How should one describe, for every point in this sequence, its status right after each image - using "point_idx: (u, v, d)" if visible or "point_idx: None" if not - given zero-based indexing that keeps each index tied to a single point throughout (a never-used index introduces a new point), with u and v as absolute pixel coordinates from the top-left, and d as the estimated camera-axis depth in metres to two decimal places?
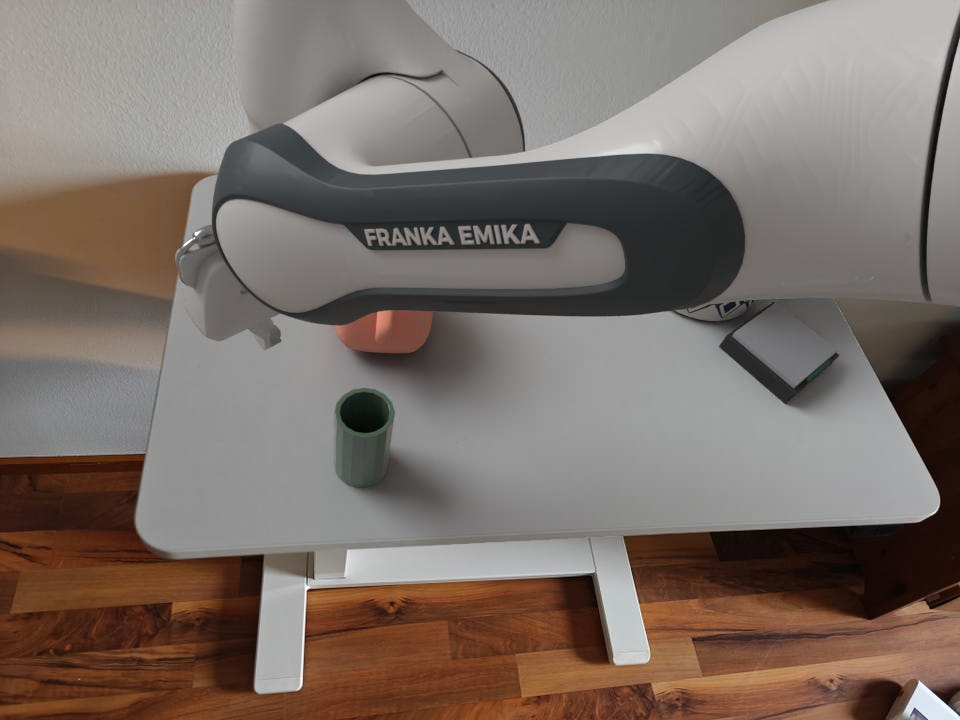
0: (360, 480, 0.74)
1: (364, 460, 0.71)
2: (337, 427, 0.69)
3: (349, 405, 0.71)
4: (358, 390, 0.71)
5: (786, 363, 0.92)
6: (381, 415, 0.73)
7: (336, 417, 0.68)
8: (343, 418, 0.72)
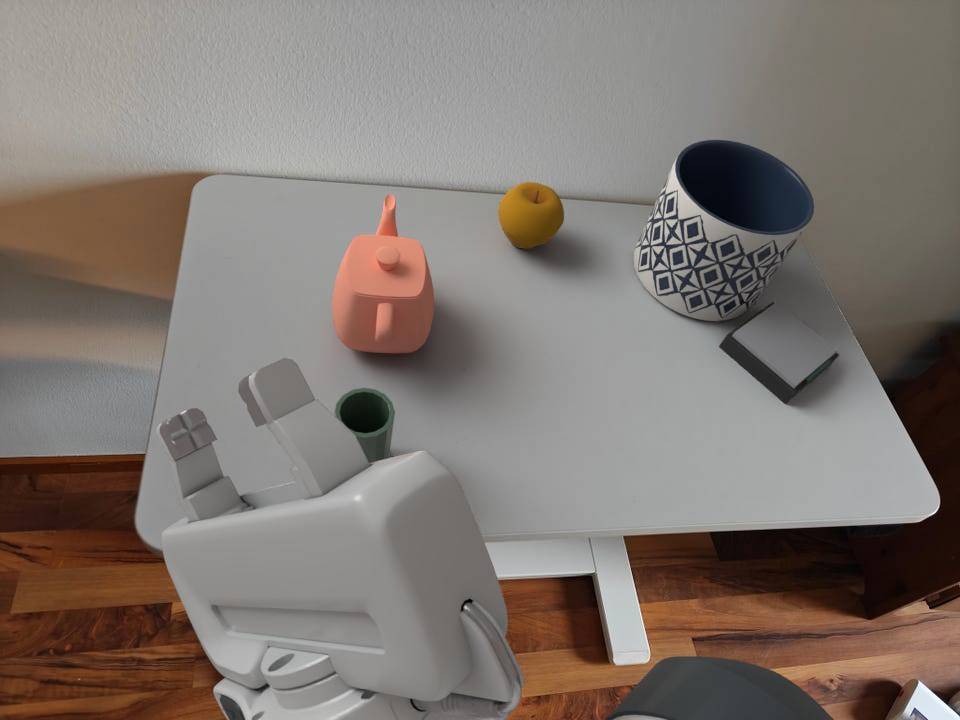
0: None
1: None
2: None
3: (349, 405, 0.71)
4: (358, 390, 0.71)
5: (786, 363, 0.92)
6: (381, 415, 0.73)
7: None
8: (343, 418, 0.72)
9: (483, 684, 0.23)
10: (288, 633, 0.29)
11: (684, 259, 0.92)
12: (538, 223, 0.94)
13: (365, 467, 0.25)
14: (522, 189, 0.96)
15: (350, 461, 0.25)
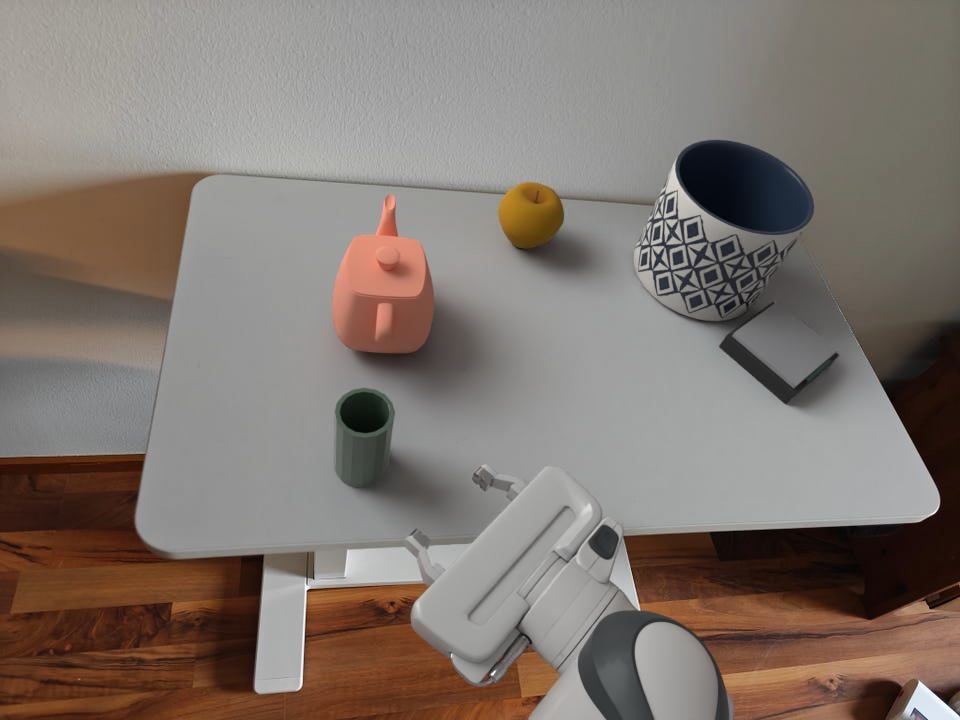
0: (360, 480, 0.74)
1: (364, 460, 0.71)
2: (337, 427, 0.69)
3: (349, 405, 0.71)
4: (358, 390, 0.71)
5: (786, 363, 0.92)
6: (381, 415, 0.73)
7: (336, 417, 0.68)
8: (343, 418, 0.72)
9: None
10: None
11: (684, 259, 0.92)
12: (538, 223, 0.94)
13: (434, 582, 0.62)
14: (522, 189, 0.96)
15: (430, 580, 0.63)
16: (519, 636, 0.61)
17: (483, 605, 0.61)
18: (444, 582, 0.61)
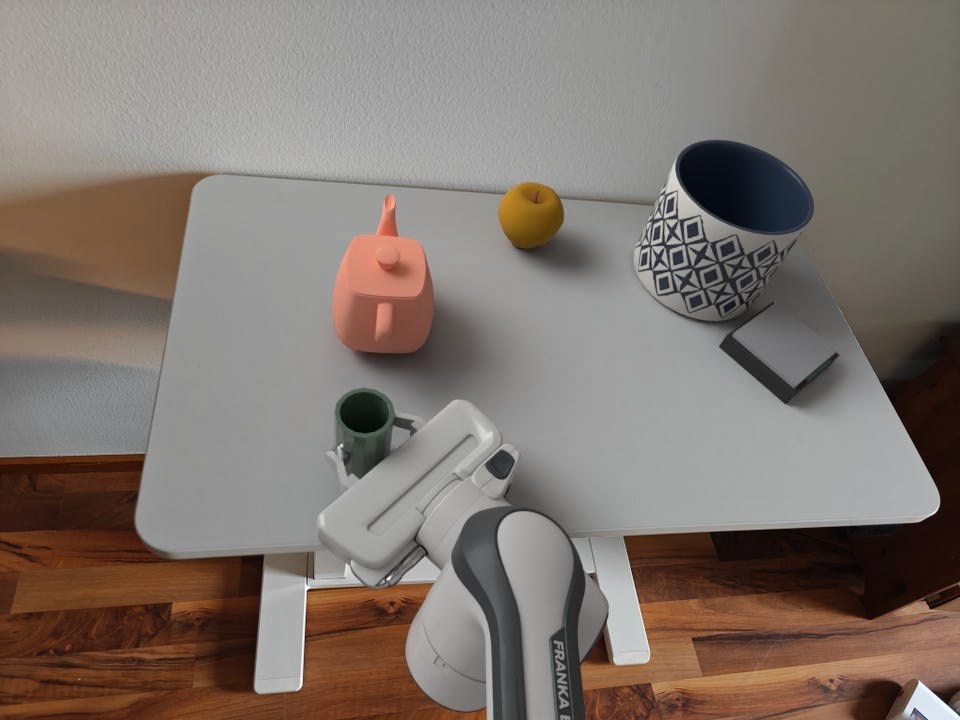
0: None
1: (364, 460, 0.71)
2: (337, 427, 0.69)
3: (349, 405, 0.71)
4: (358, 390, 0.70)
5: (786, 363, 0.92)
6: (381, 415, 0.73)
7: (336, 417, 0.68)
8: (343, 418, 0.72)
9: None
10: None
11: (684, 259, 0.92)
12: (538, 223, 0.94)
13: None
14: (522, 189, 0.96)
15: (346, 489, 0.68)
16: (416, 547, 0.66)
17: (383, 518, 0.66)
18: (347, 497, 0.66)
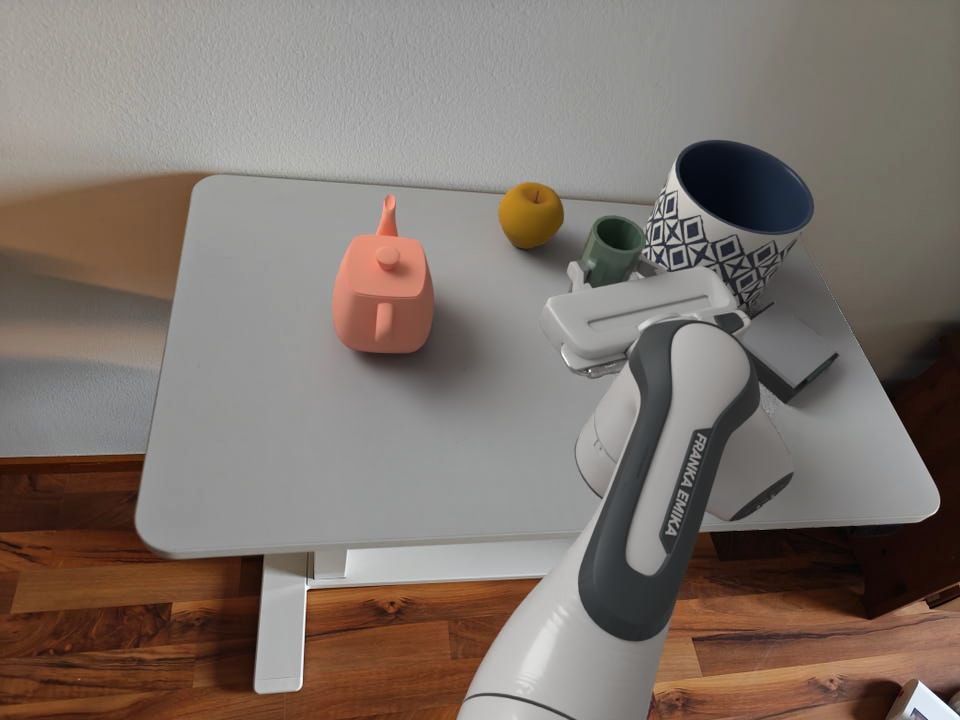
0: None
1: (601, 281, 0.75)
2: (590, 238, 0.74)
3: (605, 230, 0.76)
4: (619, 217, 0.75)
5: (786, 363, 0.92)
6: None
7: (593, 228, 0.74)
8: None
9: None
10: None
11: (684, 259, 0.92)
12: (538, 223, 0.94)
13: None
14: (522, 189, 0.96)
15: None
16: (624, 359, 0.69)
17: (604, 322, 0.70)
18: (579, 294, 0.71)
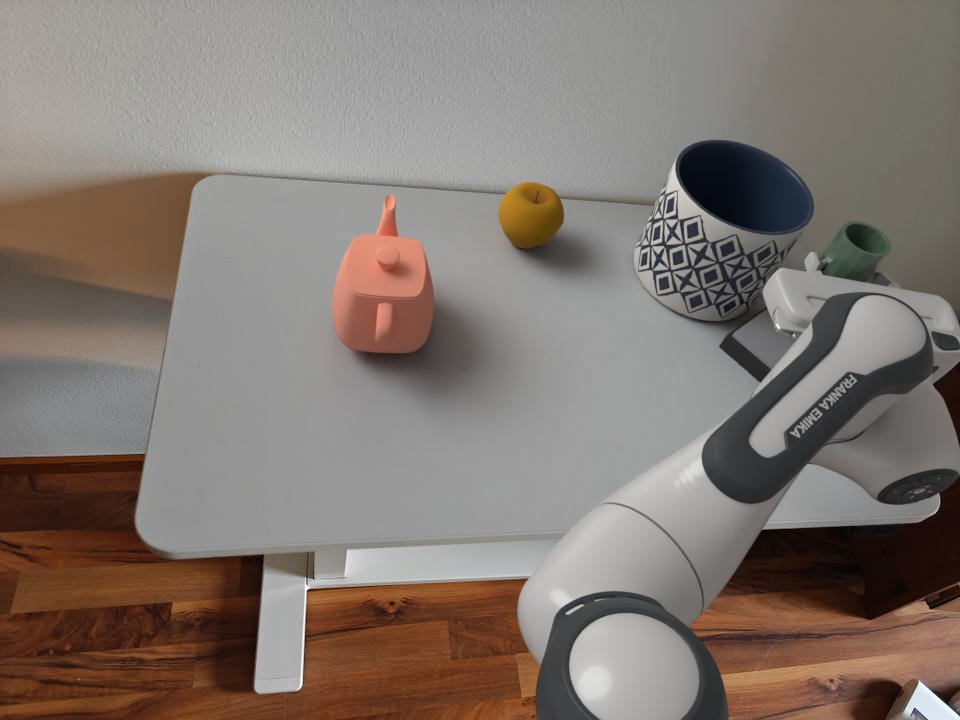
0: None
1: (833, 276, 0.82)
2: (837, 234, 0.81)
3: (854, 235, 0.83)
4: (872, 226, 0.81)
5: None
6: None
7: (843, 226, 0.81)
8: None
9: None
10: None
11: (684, 259, 0.92)
12: (538, 223, 0.94)
13: None
14: (522, 189, 0.96)
15: None
16: None
17: (822, 302, 0.77)
18: (808, 274, 0.79)
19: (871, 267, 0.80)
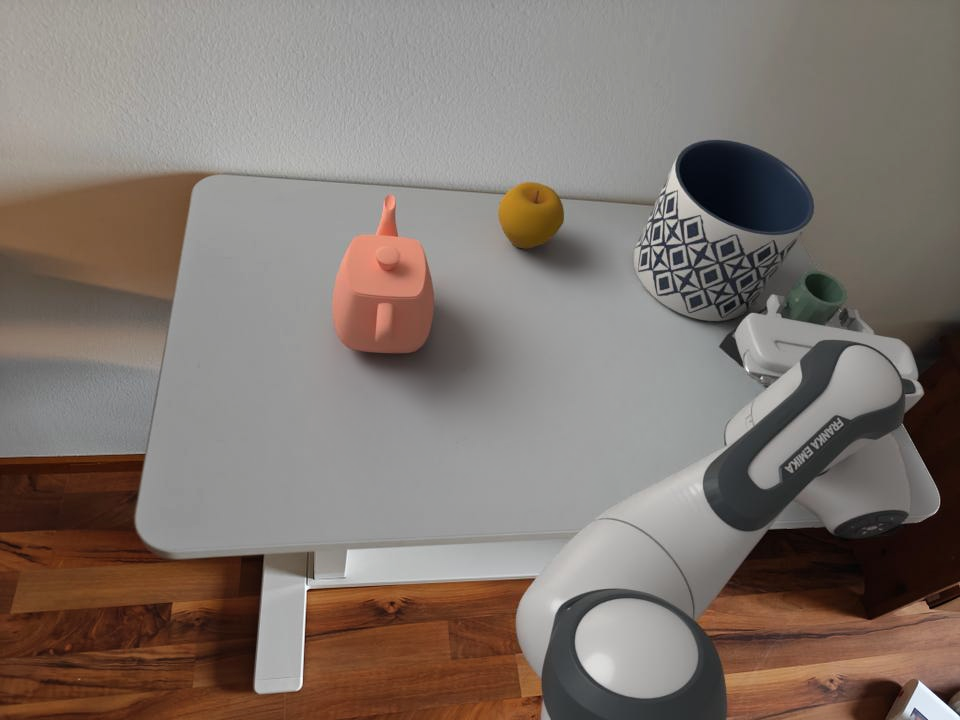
0: None
1: None
2: (797, 283, 0.87)
3: (814, 283, 0.89)
4: (830, 276, 0.88)
5: None
6: None
7: (803, 276, 0.87)
8: None
9: None
10: None
11: (684, 259, 0.92)
12: (538, 223, 0.94)
13: None
14: (522, 189, 0.96)
15: None
16: None
17: (789, 346, 0.82)
18: (777, 319, 0.84)
19: (828, 315, 0.86)
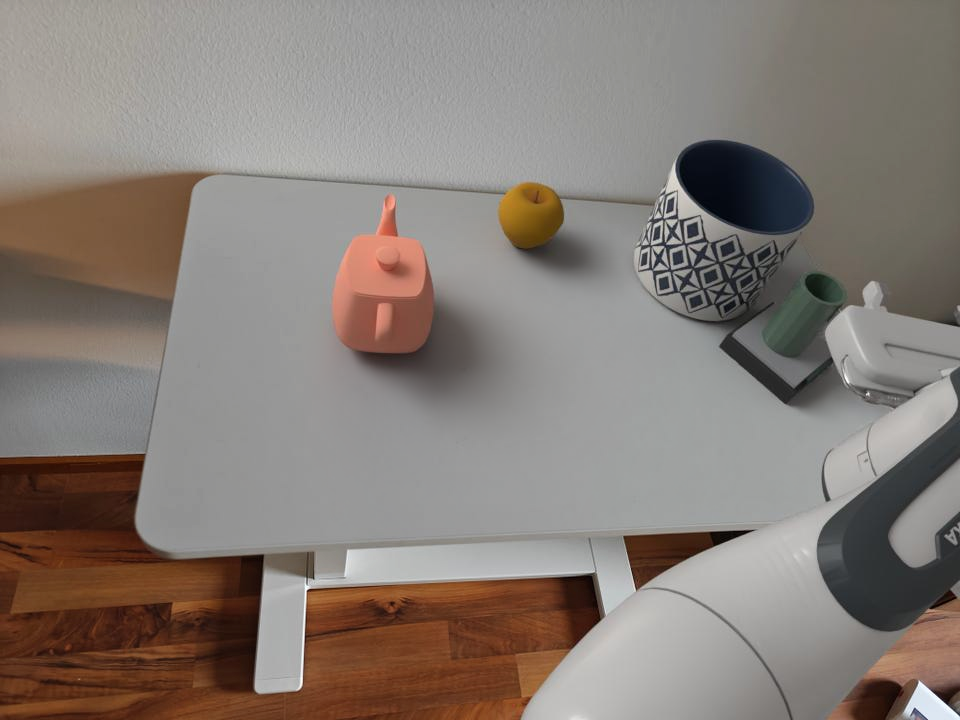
0: (776, 341, 0.92)
1: (794, 321, 0.88)
2: (797, 283, 0.87)
3: (814, 283, 0.89)
4: (830, 276, 0.88)
5: (786, 363, 0.92)
6: None
7: (803, 276, 0.87)
8: None
9: None
10: None
11: (684, 259, 0.92)
12: (538, 223, 0.94)
13: None
14: (522, 189, 0.96)
15: None
16: (911, 397, 0.61)
17: (903, 351, 0.62)
18: (884, 314, 0.64)
19: (828, 315, 0.86)
